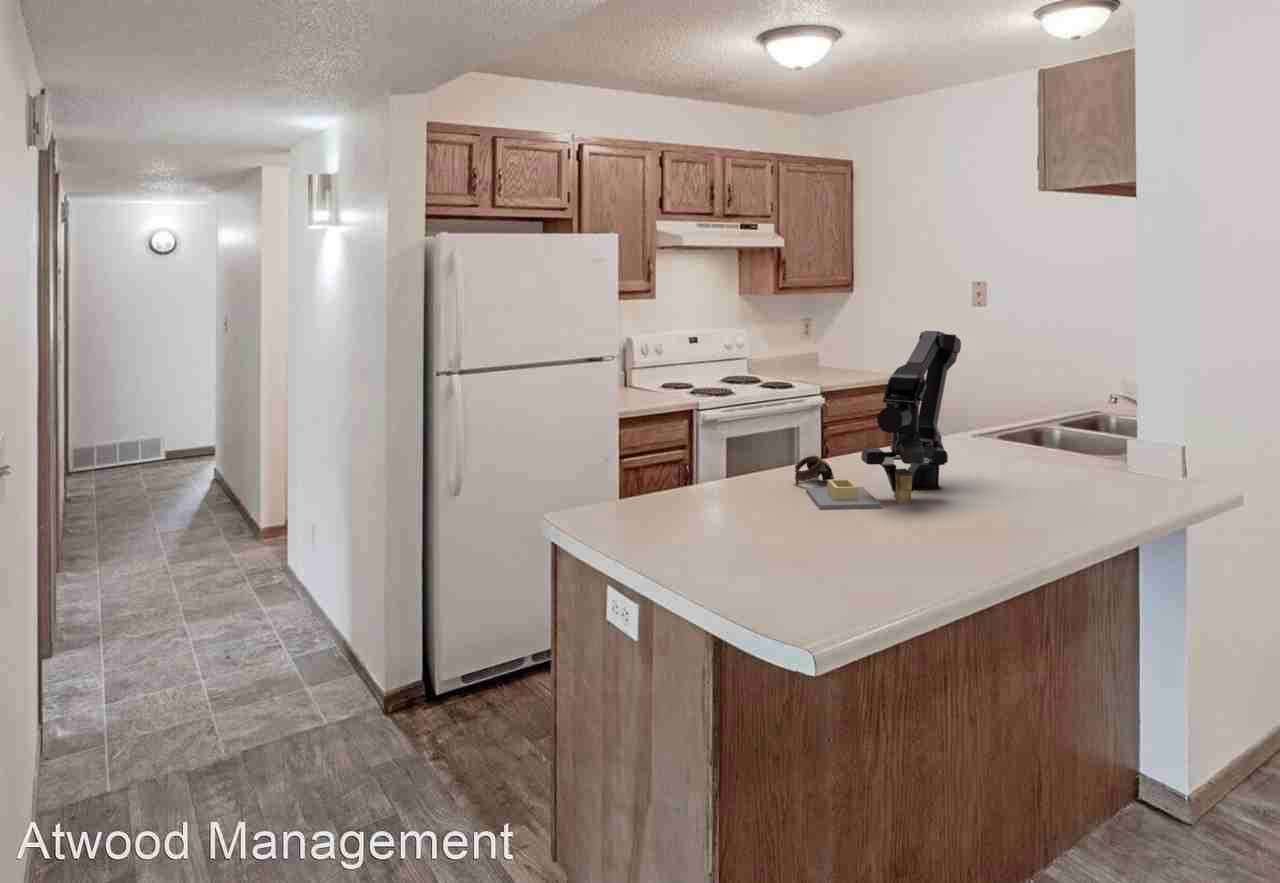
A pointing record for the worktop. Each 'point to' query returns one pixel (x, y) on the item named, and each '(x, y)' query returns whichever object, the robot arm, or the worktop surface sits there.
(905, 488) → the wood topped block
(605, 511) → the worktop surface
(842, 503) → the grey board with socket
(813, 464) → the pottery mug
